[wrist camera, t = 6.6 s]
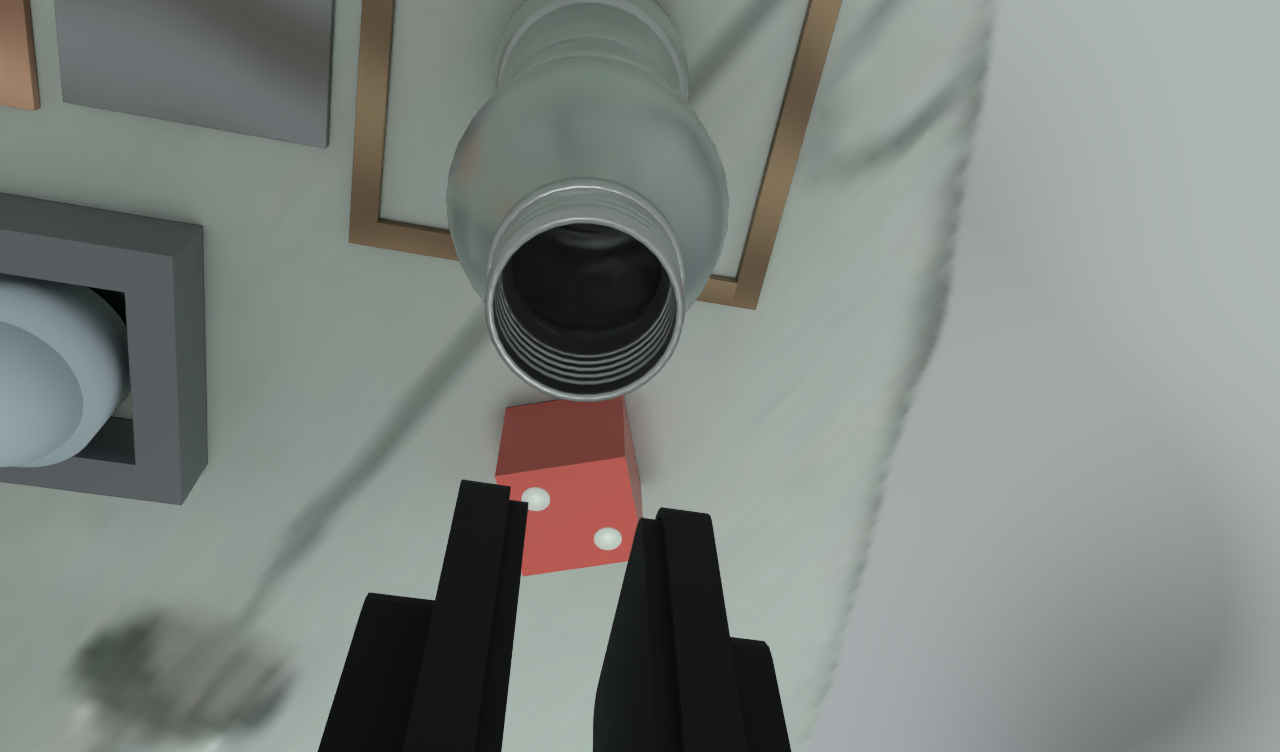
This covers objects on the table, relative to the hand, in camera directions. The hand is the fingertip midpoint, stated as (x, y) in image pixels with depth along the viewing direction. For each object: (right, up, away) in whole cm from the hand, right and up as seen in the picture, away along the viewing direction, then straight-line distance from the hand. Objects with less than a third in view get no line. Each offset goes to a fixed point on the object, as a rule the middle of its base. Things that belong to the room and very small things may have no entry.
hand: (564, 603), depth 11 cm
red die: (-2, -1, +32) cm, 32 cm away
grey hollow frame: (-22, +4, +28) cm, 36 cm away
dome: (-22, +4, +27) cm, 35 cm away
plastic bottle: (-1, +14, +24) cm, 28 cm away
